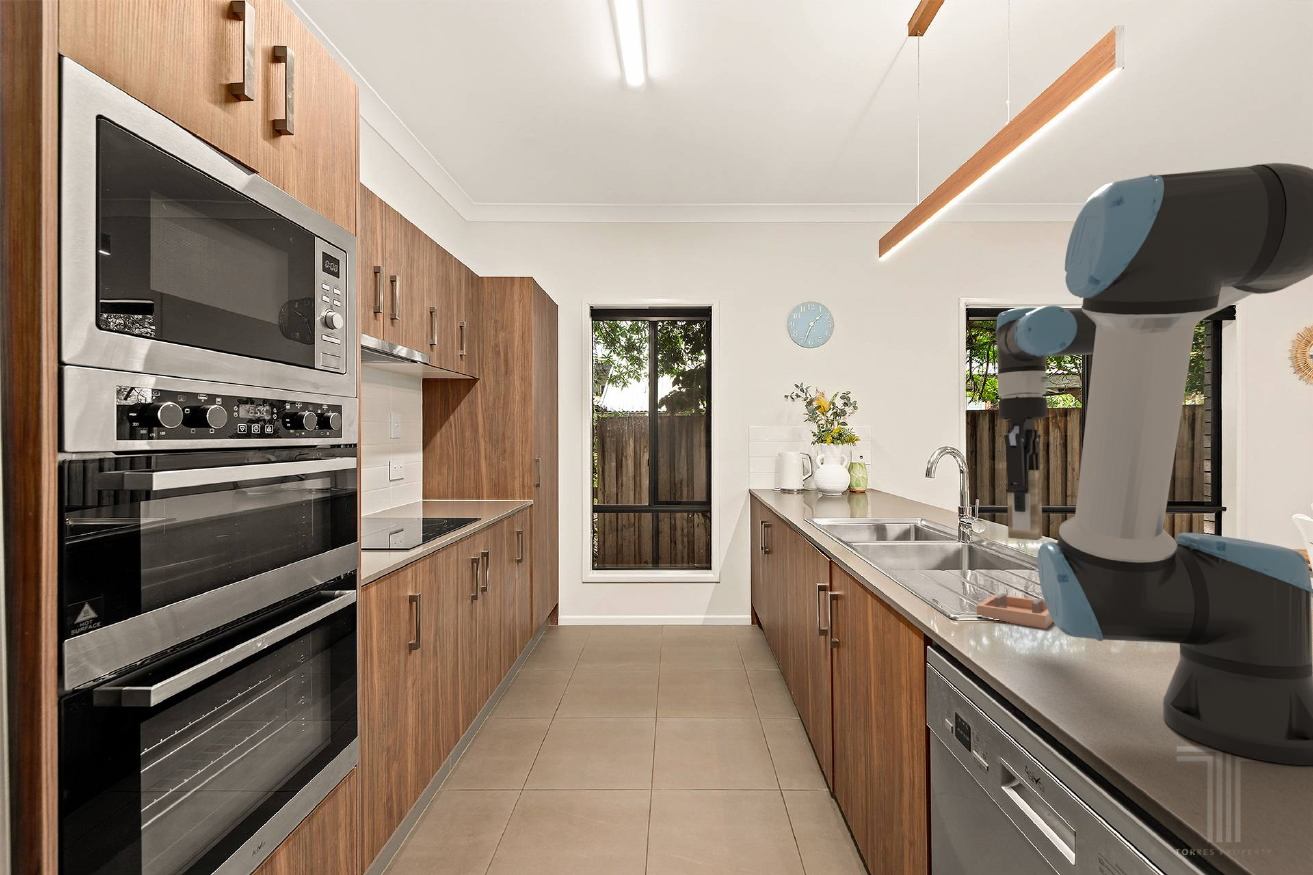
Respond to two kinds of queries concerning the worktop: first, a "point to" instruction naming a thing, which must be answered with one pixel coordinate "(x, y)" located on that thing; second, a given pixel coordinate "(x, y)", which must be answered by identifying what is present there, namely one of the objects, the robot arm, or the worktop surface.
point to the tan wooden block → (1036, 509)
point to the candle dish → (1016, 610)
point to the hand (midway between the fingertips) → (1025, 528)
